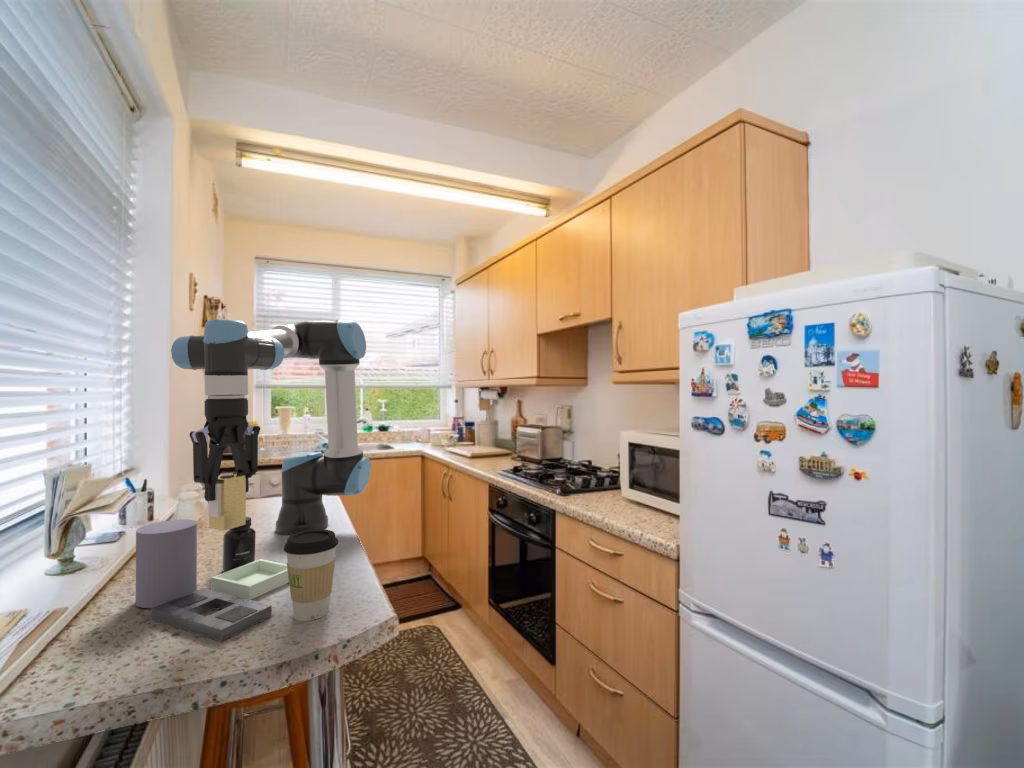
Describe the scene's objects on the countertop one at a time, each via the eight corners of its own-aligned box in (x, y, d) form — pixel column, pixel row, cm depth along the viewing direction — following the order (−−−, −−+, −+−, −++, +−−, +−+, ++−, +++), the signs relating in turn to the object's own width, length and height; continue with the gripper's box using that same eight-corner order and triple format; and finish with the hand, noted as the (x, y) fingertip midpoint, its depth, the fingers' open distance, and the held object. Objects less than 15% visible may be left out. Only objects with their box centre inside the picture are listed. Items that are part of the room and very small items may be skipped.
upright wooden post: (230, 521, 98) (230, 472, 98) (245, 524, 96) (245, 474, 96) (209, 528, 94) (208, 476, 93) (224, 530, 92) (224, 478, 92)
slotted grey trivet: (203, 597, 98) (203, 587, 98) (271, 615, 90) (271, 604, 90) (150, 619, 89) (150, 608, 89) (221, 641, 81) (221, 629, 81)
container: (205, 586, 104) (206, 518, 104) (181, 607, 94) (181, 532, 94) (153, 589, 102) (154, 520, 103) (123, 611, 92) (123, 535, 92)
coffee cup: (298, 601, 96) (299, 528, 97) (346, 602, 96) (346, 528, 96) (273, 625, 87) (273, 544, 87) (325, 626, 86) (325, 544, 86)
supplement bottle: (240, 575, 110) (240, 523, 110) (215, 572, 112) (216, 522, 112) (261, 564, 117) (261, 516, 117) (238, 562, 118) (238, 514, 118)
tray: (260, 570, 113) (260, 558, 113) (297, 578, 108) (297, 566, 108) (211, 590, 102) (211, 577, 102) (249, 600, 97) (249, 586, 97)
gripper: (252, 395, 104) (253, 500, 104) (168, 398, 88) (169, 522, 88) (277, 396, 101) (278, 504, 101) (194, 399, 85) (195, 527, 85)
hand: (227, 512), depth 95 cm, fingers closed on upright wooden post, 4 cm apart
